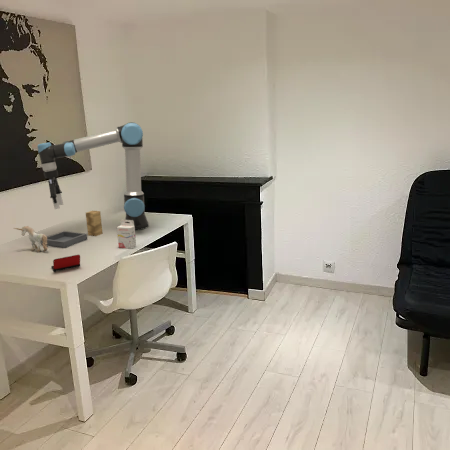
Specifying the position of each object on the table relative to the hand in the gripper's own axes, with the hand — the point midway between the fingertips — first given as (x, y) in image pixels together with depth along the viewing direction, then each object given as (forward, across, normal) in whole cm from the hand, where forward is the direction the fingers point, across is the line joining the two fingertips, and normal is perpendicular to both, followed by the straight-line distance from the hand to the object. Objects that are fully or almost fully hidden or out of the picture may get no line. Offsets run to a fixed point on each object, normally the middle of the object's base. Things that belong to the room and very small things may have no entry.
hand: (59, 206), depth 281 cm
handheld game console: (+23, +53, +6) cm, 58 cm away
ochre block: (+21, -6, +16) cm, 27 cm away
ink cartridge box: (+25, +27, +35) cm, 51 cm away
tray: (+20, +6, -1) cm, 21 cm away
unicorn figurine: (+19, +19, -16) cm, 31 cm away
